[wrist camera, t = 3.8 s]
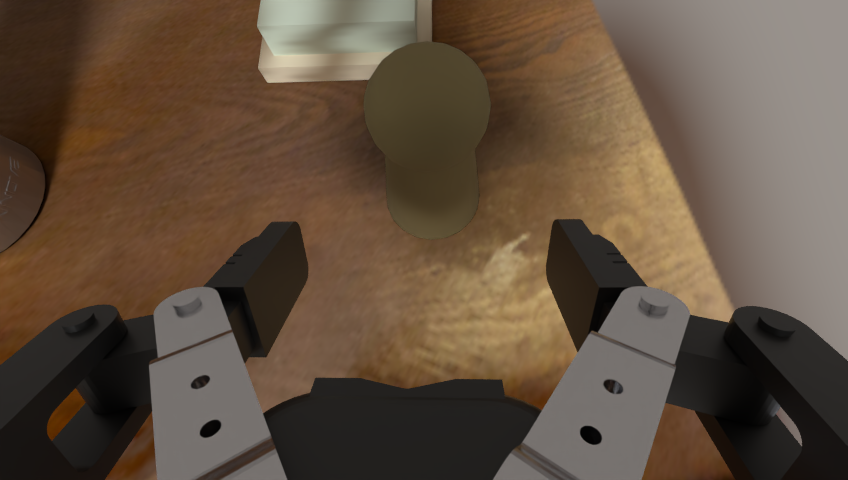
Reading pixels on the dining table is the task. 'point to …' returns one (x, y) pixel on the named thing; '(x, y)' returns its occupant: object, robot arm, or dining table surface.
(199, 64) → the dining table surface
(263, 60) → the plinth
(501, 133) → the dining table surface
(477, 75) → the cork
